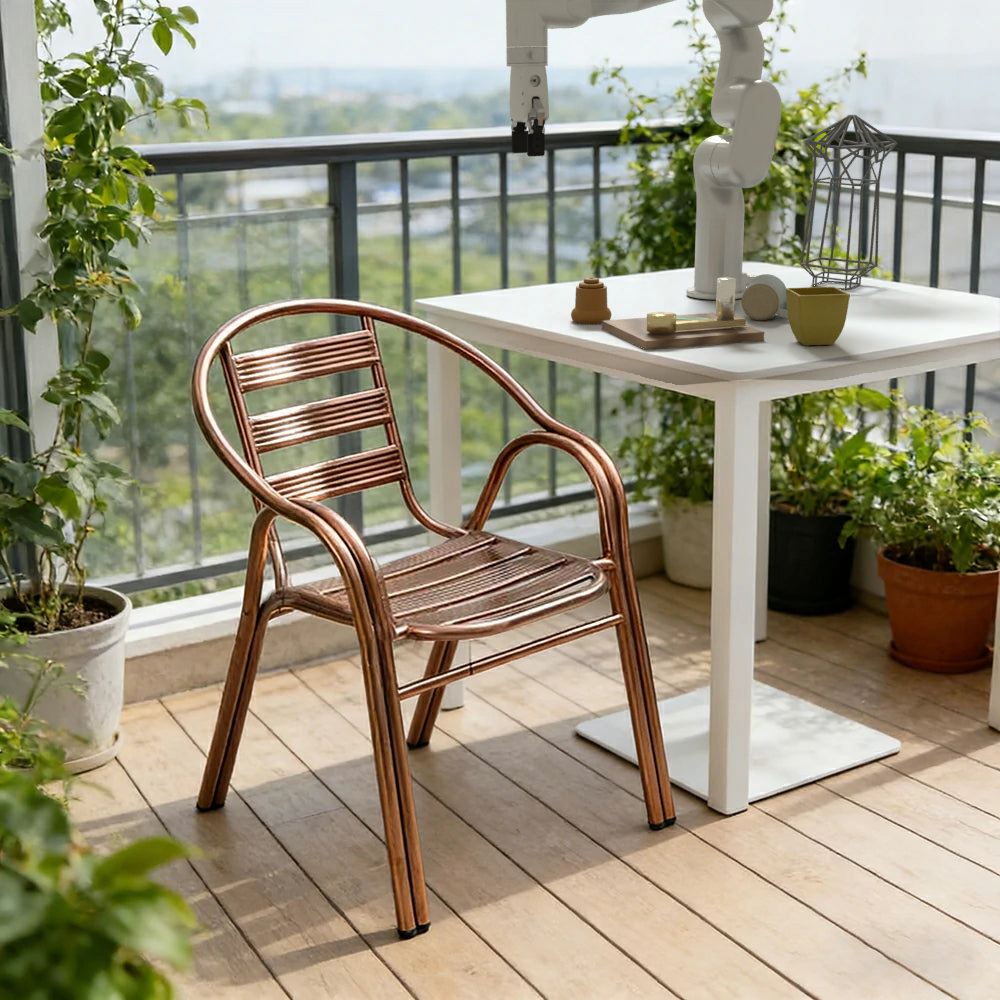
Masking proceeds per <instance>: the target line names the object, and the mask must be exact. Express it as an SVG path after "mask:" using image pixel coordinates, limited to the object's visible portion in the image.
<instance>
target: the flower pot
mask: <svg viewBox="0 0 1000 1000" xmlns="http://www.w3.org/2000/svg"><path fill="white" fill-rule="evenodd" d="M838 288H839V287H836V286H823V287H811V286H810V287H809V286H808V287H806V286H805V287H786V301H787V313H788V319H787V321H788V323H789V327H790V329H791V331H792V333H793V335H794V338H795V340H796V341H797V342H799V343H800V344H802V345H804V346H806V347H807V346H808V347H810V346H825V345H826V346H831V345H834V344H835V343H836V342H837V340H838V339H839V337H840V336H841V334H842V332H843V329H844V328H845V324H846V319H847V317H848V316H847V315H848V308H849V304H850V297H851V294H850V293H849V292H847V291H845V290H840V289H838Z"/></svg>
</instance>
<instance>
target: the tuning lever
mask: <svg viewBox="0 0 1000 1000" xmlns="http://www.w3.org/2000/svg"><path fill="white" fill-rule="evenodd" d="M735 290H736V279H735V278H729V277H723V278H717V297H716V302H715V303H716V305H715V306H716V307H715V314H716V319H705V320H691V321H678V322H676V315H677V313H675V312H670V311H669V312H667V311H656V312H655V311H654V312H648V313H647V314H646V318H647V332H650V333H658V334H665V333H673V332H676V331H681V330H695V329H708V328H721V327H734V326H746V325H747V318H745V317H743V316H735V310H736V299H735Z"/></svg>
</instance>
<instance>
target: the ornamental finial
mask: <svg viewBox="0 0 1000 1000" xmlns="http://www.w3.org/2000/svg"><path fill="white" fill-rule="evenodd" d="M574 299H575V301H574V302H575V304H574V308H572V310H571V313H570V318H571V320H572V321H573V322H574V323H575V322H576V324H579V323H580V325H602V321H606V320H612V319H611V318H612V311H611V309H610V308H609V307H608V287H607V285H605V284H604V282H602V281H600V279H599V278H598V277H585V278H583V281H580V282H579V283H578V285H577V286H575V298H574Z"/></svg>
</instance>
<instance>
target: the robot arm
mask: <svg viewBox="0 0 1000 1000" xmlns="http://www.w3.org/2000/svg"><path fill="white" fill-rule="evenodd" d="M674 1H676V0H505V24H506V25H505V31H506V32H505V35H506V37H505V39H506V52H505V53H506V67H510V75H509V76H510V77H509V78H510V79H509V114H510V115H509V116H510V118H511V119H510V121H511V126H510V129H511V153H513V154H527V156H528V157H544V156H545V155H546V154H545V153H546V152H545V151H546V149H545V146H546V145H545V144H546V142H545V141H546V140H545V137H546V136H545V135H546V134H545V133H546V128H545V124H546V122H547V121H549V120H550V106H549V101H550V100H549V85H548V75H547V66H549V63H548V62H549V61H548V59H549V58H548V57H549V55H548V53H549V51H548V48H549V46H548V43H549V42H548V39H549V37H548V36H549V35H548V34H549V33H548V29H549V30H553V29H554V30H557V29H574V28H578V27H580V26H582V25H584V24H585V23H587V21H588V20H589V19H592V18H596V17H602V16H603V17H604V16H611V15H613V16H614V15H623V14H624V15H625V14H629V13H630V14H631V13H635V12H636V13H637V12H639V11H643V10H646V9H649V8H653V7H657V6H660V5H664V4H668V3H671V2H674ZM701 5H702V6H701V7H702V12H703V15H704V17H705V18H706V20H707V22H708V23H709V24H710V26H711V27H712V28H713V30H714V32H715V34H716V35H717V38H718V42H719V47H720V54H719V63H718V68H717V73H716V78H715V83H714V88H713V92H712V98H711V103H710V114H711V118H712V120H713V121H714V122H715V123H716V124H717V125H718V126H720V127H723V128H726V129H732V130H733V133H732V135H727V134H716V135H711V136H709V137H707V138H705V139H704V140H702V141H701V142H700V144H698V146H697V148H696V149H695V151H694V155H693V158H692V159H693V160H692V161H693V163H692V166H693V176H694V181H695V194H696V211H695V212H696V214H695V243H694V245H695V246H694V247H695V249H694V277H693V278H694V281H693V284H694V285H693V286H690V287H688V288H687V289H686V290H685V291H686V296H688V297H690V298H695V299H700V300H714V301H715V300H716V297H717V278H723V277H729V278H735V279H736V290H735V300H737V299H742V295H743V293H744V291H745V289H746V288H747V286H748V285H749V284H750V282H751V281H752V280H753V279H754V278H755V277H757V276H759V275H760V274H755V275H752V274H748V273H747V272H744V271H743V261H744V260H743V259H744V258H743V257H744V256H743V255H744V232H745V231H744V230H745V214H746V213H745V209H746V208H745V198H744V192H743V189H749V188H750V189H751V188H753V187H756V186H758V185H760V184H761V182H763V181H764V179H765V178H766V176H767V175H768V172H769V171H770V168H771V165H772V160H773V157H774V152H775V148H776V143H777V139H778V133H779V129H780V123H781V118H782V114H783V113H782V112H783V111H782V110H783V105H782V99H781V95H780V92H779V90H778V89H777V88H776V86H775V85H774V83H772V82H770V81H768V80H765V79H762V76H763V75H762V73H763V67H764V63H765V62H764V60H765V54H766V53H765V52H766V50H765V49H766V48H765V42H764V37H763V35H762V32H761V30H760V27H759V26H761V25H762V24H764V23H765V22H766V21H767V20H768V19H769V18H770V16H771V14H772V11H773V9H774V0H702V3H701Z"/></svg>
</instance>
